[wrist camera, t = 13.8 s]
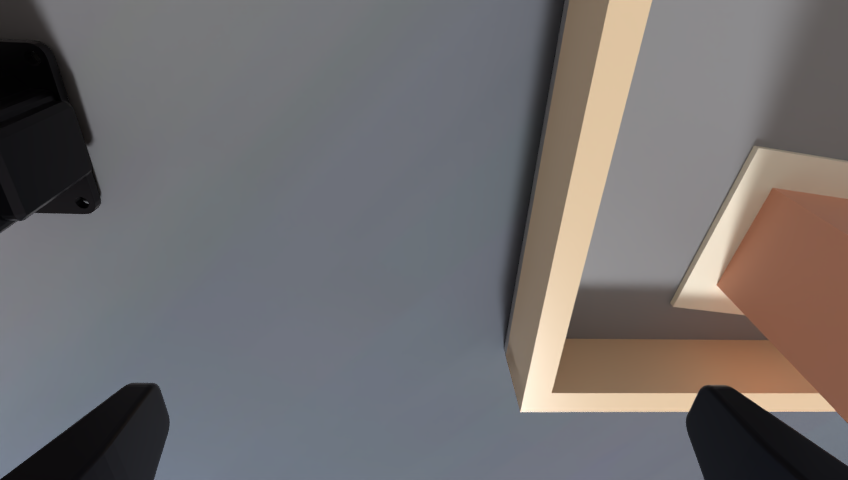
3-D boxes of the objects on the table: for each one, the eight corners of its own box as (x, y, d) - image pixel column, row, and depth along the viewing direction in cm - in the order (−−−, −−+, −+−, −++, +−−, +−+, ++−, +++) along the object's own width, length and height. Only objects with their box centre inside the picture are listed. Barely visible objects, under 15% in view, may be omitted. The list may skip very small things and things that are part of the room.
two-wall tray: (504, 349, 25) (520, 412, 22) (574, -58, 16) (622, -61, 13) (833, 351, 26) (898, 411, 23) (1075, -30, 17) (1245, -25, 14)
